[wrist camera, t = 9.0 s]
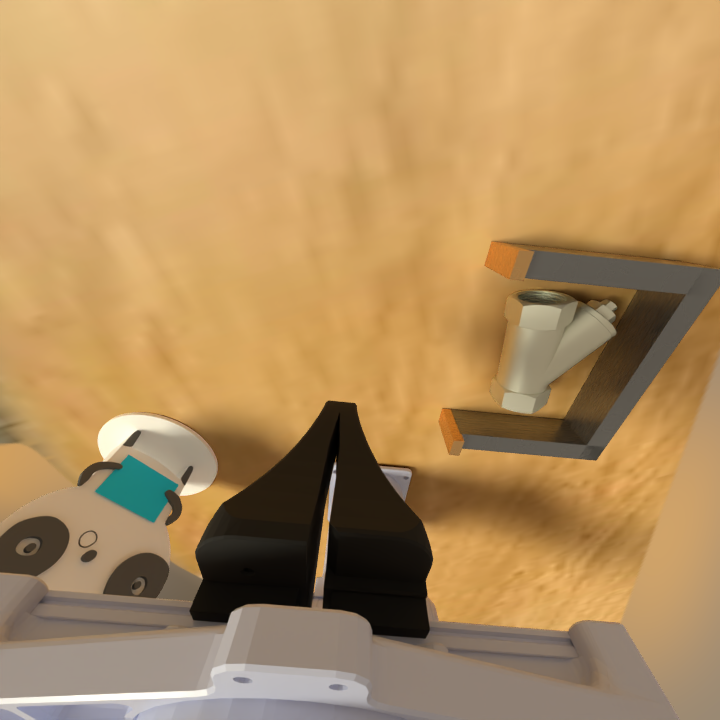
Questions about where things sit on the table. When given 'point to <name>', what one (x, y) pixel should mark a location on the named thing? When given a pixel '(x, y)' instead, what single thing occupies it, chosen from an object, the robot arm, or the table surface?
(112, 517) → the panda figurine
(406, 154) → the table surface
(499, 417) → the grey u-shaped frame
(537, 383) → the pipe fitting
